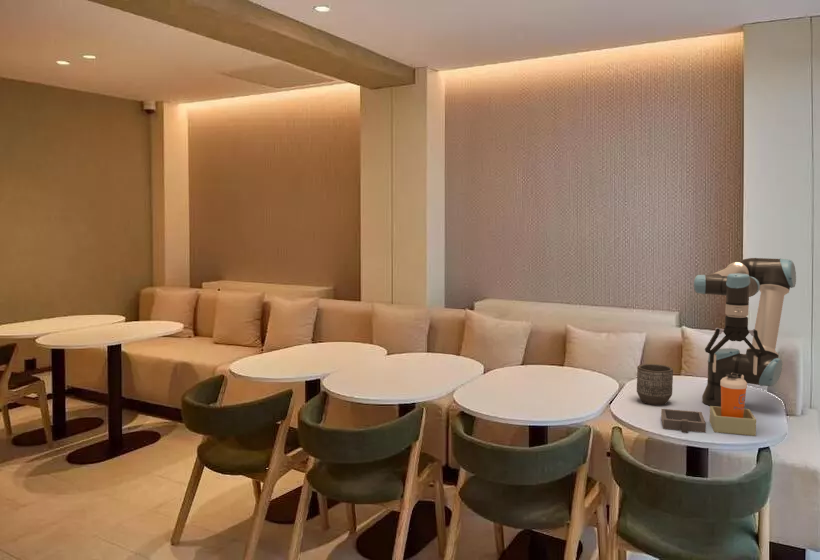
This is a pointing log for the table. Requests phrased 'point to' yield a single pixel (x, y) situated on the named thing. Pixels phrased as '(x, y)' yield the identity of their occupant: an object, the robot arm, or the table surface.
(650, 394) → the planter
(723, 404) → the shaker bottle
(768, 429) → the table surface
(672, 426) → the collar
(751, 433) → the sage holder
